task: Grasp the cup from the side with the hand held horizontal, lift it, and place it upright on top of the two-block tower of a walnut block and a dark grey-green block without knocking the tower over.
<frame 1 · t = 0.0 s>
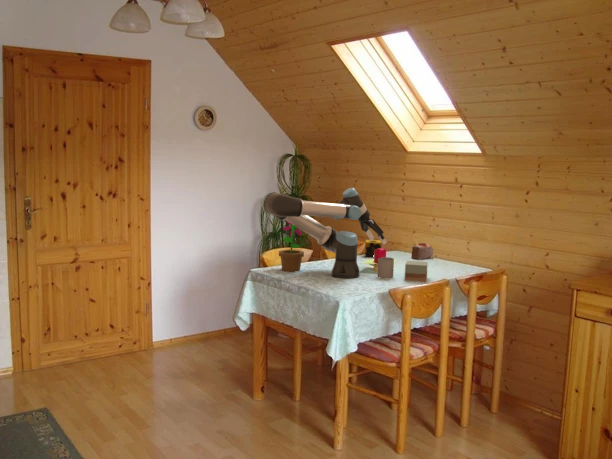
hand: (378, 241, 366), 15 cm above the table, tool tilted 35°, fingers open, 13 cm apart
flowerpot: (291, 270, 354), on the table
cup: (385, 277, 343), on the table
tower top block: (416, 271, 339), point 4 cm above the table, touching tower bottom block
yellow black cube: (372, 256, 403), on the table
tower bottom block: (415, 279, 339), on the table, touching tower top block
food item: (421, 258, 401), on the table
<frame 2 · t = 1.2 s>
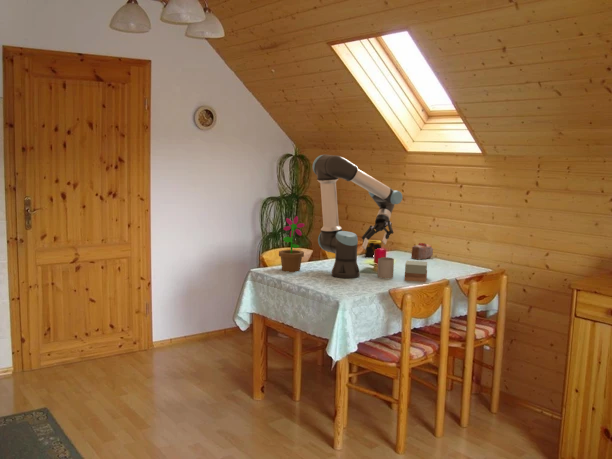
hand: (373, 245, 350), 15 cm above the table, tool tilted 50°, fingers open, 13 cm apart
nothing on the table moved.
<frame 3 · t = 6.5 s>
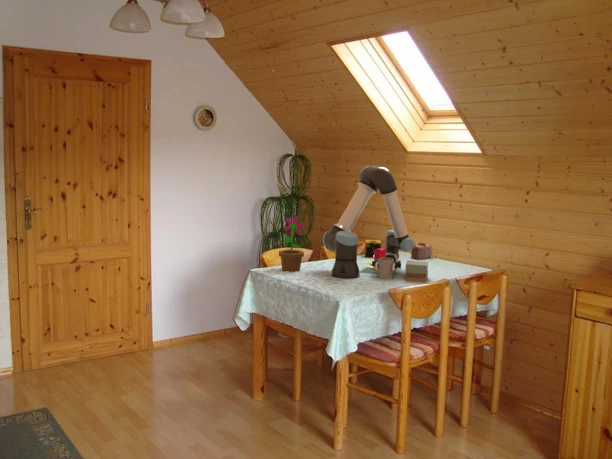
hand: (384, 267, 337), 6 cm above the table, tool horizontal, fingers closed on cup, 8 cm apart
cup: (385, 277, 343), on the table, touching gripper
everything else where it was.
when the fingers open (16 cm above the table, at t = 11.8 s): cup drops 1 cm, resting on tower top block.
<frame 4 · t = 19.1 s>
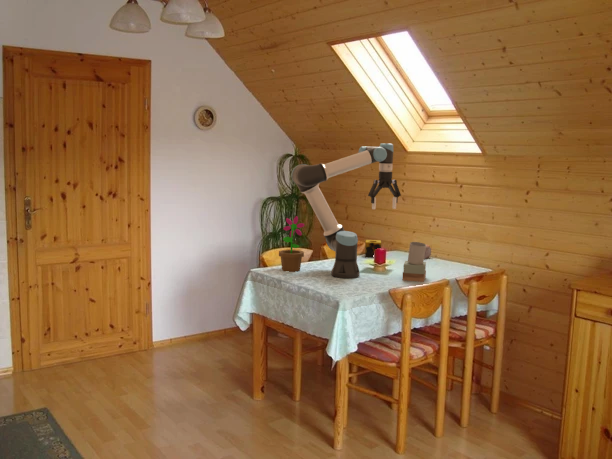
hand: (384, 209, 358), 35 cm above the table, tool pointing down, fingers open, 13 cm apart
cup: (415, 262, 338), point 9 cm above the table, touching tower top block
tower top block: (414, 271, 339), point 4 cm above the table, touching cup, tower bottom block
tower bottom block: (414, 279, 339), on the table, touching tower top block
everything else where it was.
at the end: cup 0.1 cm off-centre on the tower bottom block, point 9.6 cm above the tower bottom block's base; tower top block 0.1 cm off-centre on the tower bottom block, point 4.5 cm above the tower bottom block's base; cup tilted 11° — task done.
